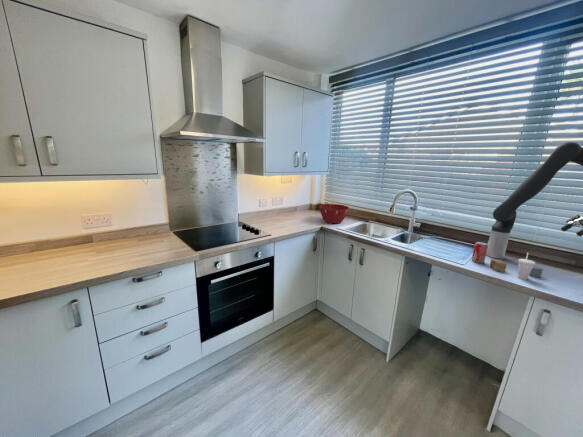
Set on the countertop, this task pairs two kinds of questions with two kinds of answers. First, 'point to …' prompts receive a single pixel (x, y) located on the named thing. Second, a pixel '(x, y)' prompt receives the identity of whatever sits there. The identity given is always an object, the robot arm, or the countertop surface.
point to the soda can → (479, 252)
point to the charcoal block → (536, 271)
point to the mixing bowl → (333, 212)
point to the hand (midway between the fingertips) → (569, 232)
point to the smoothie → (525, 268)
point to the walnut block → (498, 265)
